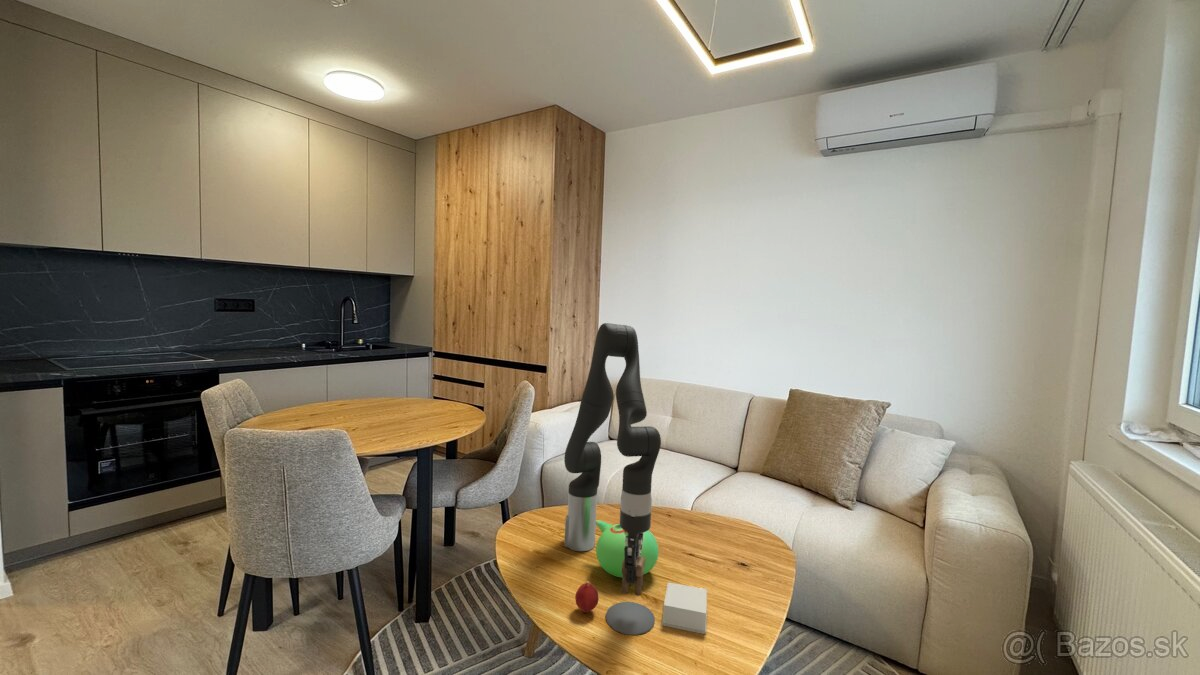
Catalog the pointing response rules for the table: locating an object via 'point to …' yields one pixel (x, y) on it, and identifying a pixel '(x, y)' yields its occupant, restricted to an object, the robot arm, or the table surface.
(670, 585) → the white square box
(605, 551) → the toy bird
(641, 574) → the walnut stool
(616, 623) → the charcoal felt mat
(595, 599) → the onion
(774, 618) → the table surface
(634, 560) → the robot arm
